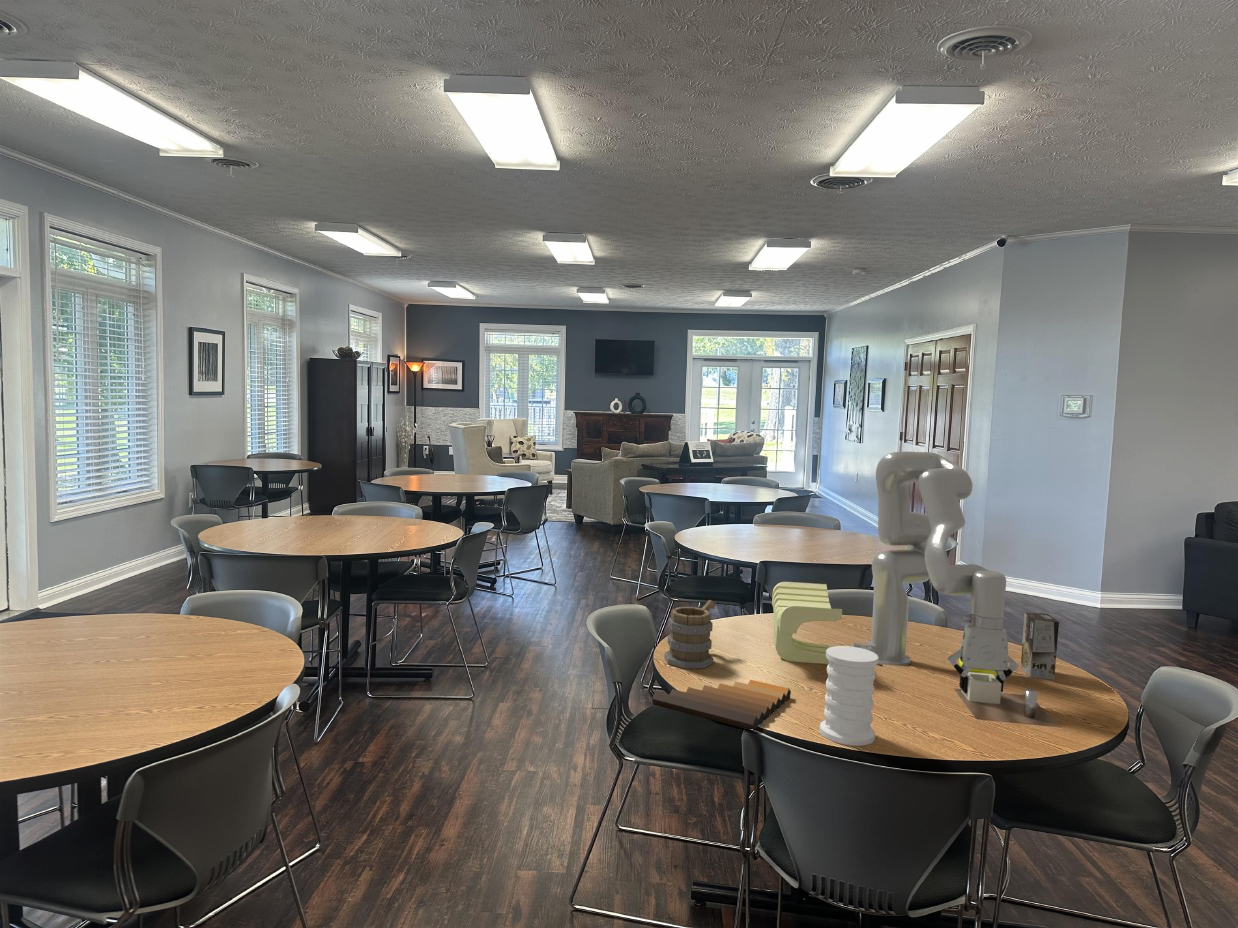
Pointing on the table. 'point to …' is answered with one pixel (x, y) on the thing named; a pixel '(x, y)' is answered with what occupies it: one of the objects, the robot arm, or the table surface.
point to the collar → (983, 688)
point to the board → (1007, 710)
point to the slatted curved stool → (800, 619)
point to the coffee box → (1039, 645)
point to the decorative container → (849, 696)
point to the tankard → (690, 637)
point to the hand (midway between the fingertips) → (980, 692)
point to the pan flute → (728, 702)
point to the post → (1030, 703)
